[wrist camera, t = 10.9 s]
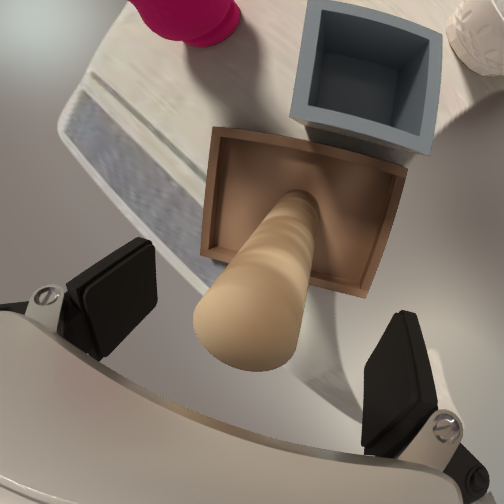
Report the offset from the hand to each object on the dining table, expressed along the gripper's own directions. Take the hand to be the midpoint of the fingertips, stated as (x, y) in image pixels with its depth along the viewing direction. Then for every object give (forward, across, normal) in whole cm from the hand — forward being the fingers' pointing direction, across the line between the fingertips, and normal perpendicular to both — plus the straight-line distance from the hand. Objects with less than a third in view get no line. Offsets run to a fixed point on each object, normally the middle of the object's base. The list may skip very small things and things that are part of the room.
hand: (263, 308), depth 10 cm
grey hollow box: (+16, -2, -10) cm, 19 cm away
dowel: (+15, +1, +1) cm, 15 cm away
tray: (+15, +1, +1) cm, 15 cm away
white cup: (+16, -13, -20) cm, 29 cm away
